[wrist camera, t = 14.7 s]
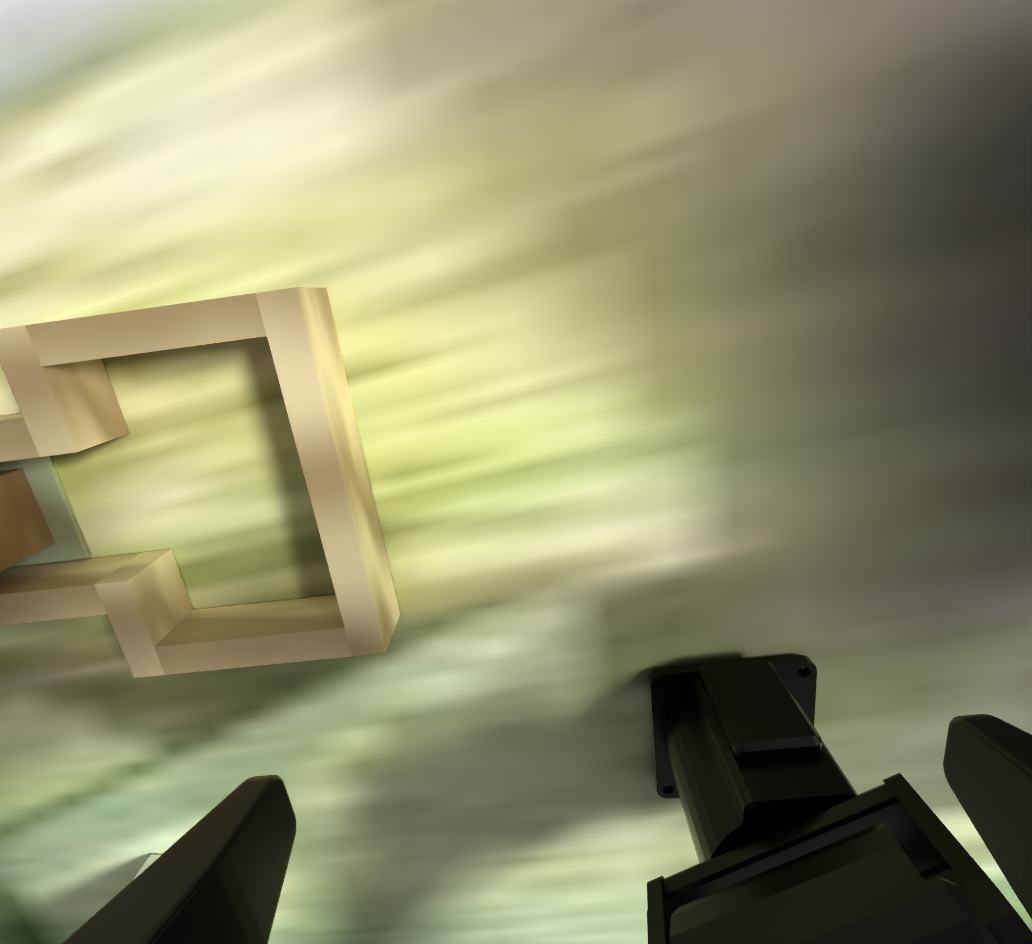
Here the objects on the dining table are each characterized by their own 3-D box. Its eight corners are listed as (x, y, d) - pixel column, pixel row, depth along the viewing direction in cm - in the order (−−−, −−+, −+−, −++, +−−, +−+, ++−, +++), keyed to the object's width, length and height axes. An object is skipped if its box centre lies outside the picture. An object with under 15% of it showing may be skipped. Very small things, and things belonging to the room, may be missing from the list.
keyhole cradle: (400, 614, 21) (385, 653, 19) (-14, 657, 22) (-75, 698, 20) (325, 287, 18) (295, 287, 15) (-170, 357, 19) (-267, 366, 16)
